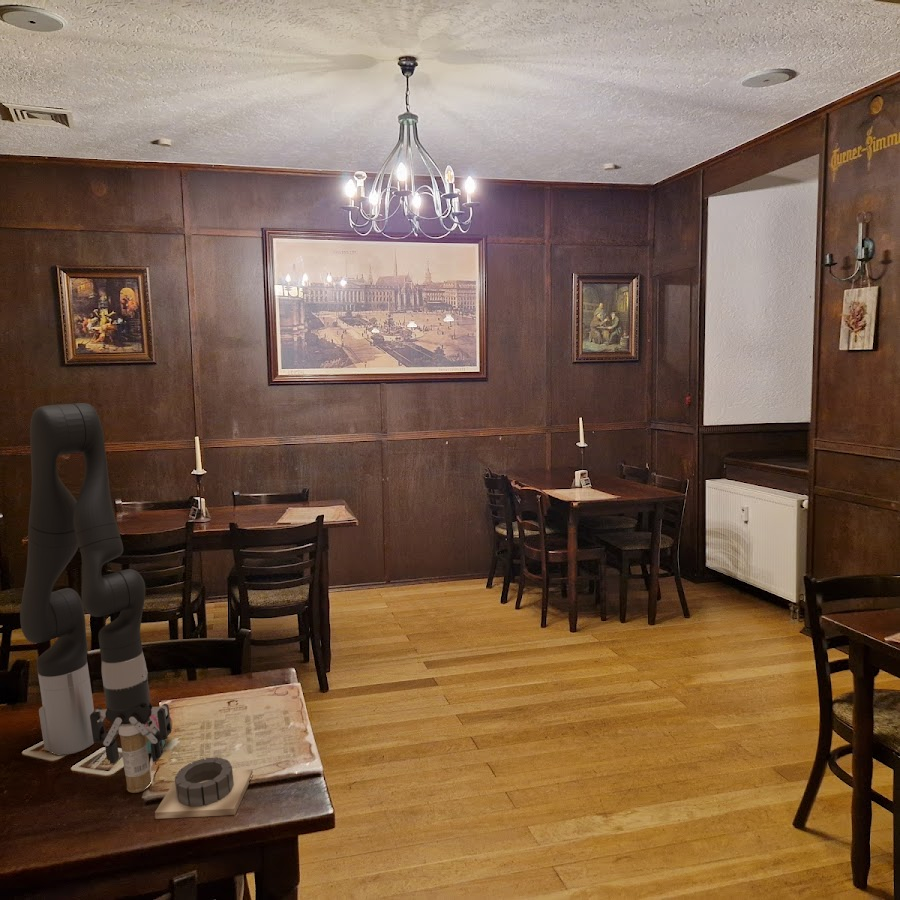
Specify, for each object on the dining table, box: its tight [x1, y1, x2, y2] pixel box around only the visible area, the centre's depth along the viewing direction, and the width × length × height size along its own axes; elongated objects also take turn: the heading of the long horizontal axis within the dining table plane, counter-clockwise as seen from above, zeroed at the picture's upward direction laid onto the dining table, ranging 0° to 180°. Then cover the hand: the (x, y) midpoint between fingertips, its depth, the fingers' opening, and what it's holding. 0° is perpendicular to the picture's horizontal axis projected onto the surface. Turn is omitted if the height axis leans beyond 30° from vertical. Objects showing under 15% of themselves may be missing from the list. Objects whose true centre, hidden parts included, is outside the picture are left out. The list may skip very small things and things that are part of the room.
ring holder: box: [154, 756, 254, 820], centre depth 138 cm, size 14×12×5 cm
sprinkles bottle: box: [118, 724, 152, 794], centre depth 141 cm, size 5×5×14 cm
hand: (135, 760), depth 141 cm, fingers open, 7 cm apart
